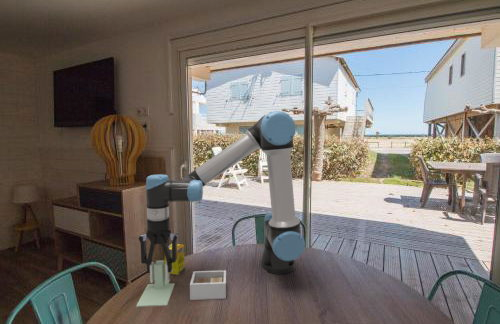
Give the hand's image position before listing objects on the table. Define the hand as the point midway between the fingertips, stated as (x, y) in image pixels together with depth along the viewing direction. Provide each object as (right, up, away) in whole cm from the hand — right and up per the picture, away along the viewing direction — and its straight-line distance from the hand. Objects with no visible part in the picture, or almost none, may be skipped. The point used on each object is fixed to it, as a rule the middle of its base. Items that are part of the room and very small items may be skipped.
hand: (159, 280), depth 99 cm
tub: (+18, -4, -2) cm, 19 cm away
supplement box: (+2, -2, +13) cm, 13 cm away
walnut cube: (+16, -3, -3) cm, 16 cm away
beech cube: (+21, -3, -2) cm, 21 cm away
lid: (0, -4, -3) cm, 5 cm away
